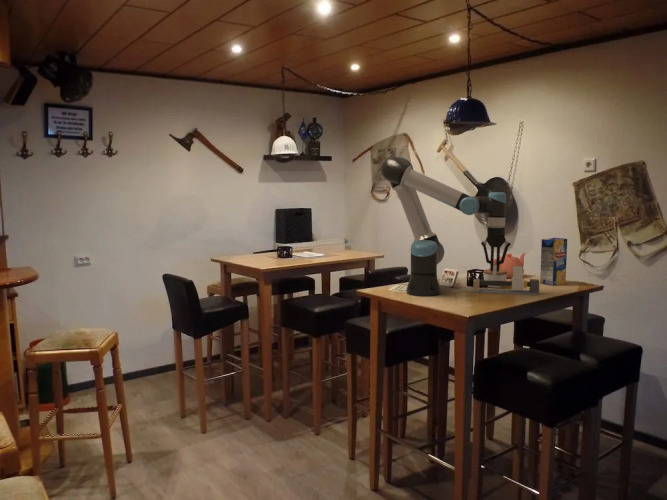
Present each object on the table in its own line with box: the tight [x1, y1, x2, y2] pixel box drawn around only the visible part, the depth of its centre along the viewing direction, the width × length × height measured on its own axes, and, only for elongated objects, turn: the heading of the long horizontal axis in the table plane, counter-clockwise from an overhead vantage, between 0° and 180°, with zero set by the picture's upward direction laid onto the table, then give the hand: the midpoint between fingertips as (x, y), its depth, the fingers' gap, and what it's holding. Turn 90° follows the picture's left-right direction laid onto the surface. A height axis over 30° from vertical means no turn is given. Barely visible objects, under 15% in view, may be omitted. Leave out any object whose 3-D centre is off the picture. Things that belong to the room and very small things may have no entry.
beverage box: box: [539, 237, 568, 287], centre depth 259 cm, size 7×11×22 cm, turn 125°
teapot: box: [493, 252, 526, 279], centre depth 281 cm, size 22×15×12 cm
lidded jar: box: [483, 268, 507, 289], centre depth 253 cm, size 11×11×9 cm
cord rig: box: [470, 278, 540, 296], centre depth 240 cm, size 29×7×6 cm, turn 76°
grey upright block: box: [510, 266, 525, 290], centre depth 238 cm, size 5×5×10 cm
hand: (494, 278), depth 240 cm, fingers closed
